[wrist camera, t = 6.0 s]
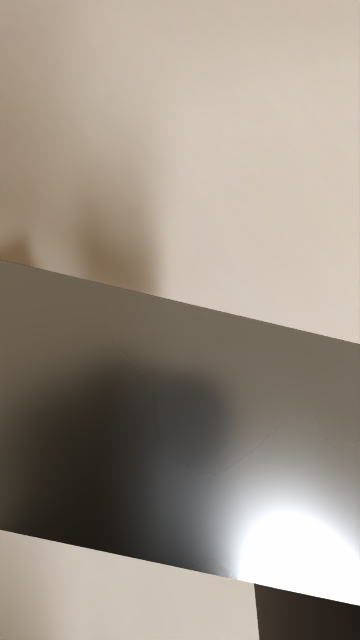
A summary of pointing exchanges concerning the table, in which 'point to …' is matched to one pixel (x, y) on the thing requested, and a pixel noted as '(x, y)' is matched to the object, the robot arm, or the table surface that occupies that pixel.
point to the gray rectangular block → (178, 434)
